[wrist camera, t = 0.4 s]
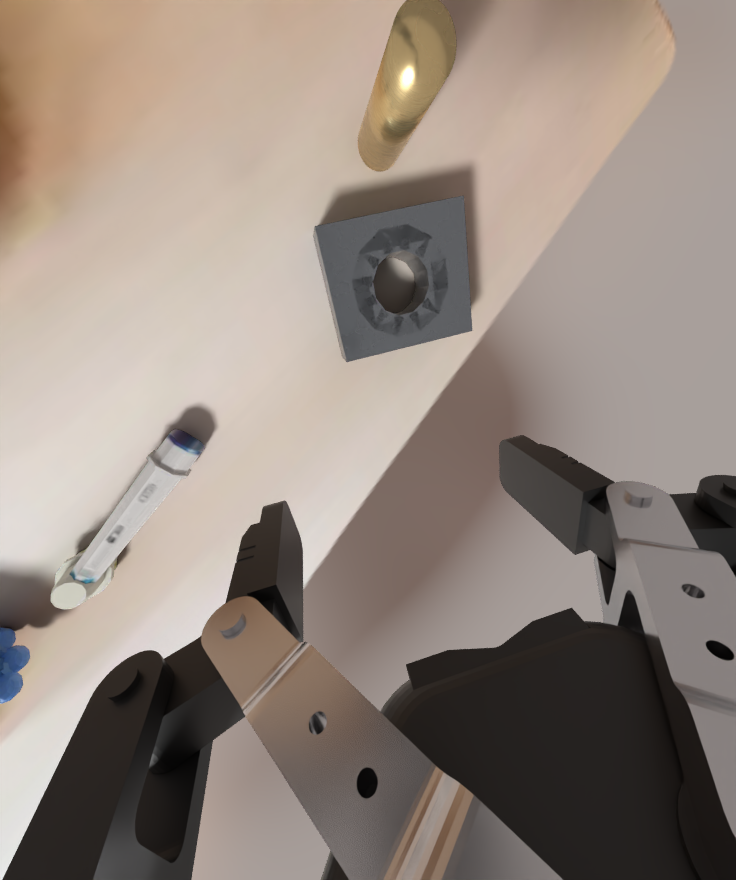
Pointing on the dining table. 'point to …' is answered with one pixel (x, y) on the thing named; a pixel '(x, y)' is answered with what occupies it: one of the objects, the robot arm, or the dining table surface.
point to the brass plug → (407, 80)
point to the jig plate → (428, 256)
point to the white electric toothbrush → (125, 521)
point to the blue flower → (11, 665)
